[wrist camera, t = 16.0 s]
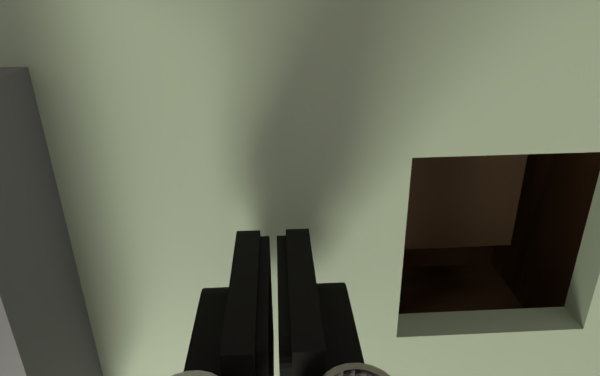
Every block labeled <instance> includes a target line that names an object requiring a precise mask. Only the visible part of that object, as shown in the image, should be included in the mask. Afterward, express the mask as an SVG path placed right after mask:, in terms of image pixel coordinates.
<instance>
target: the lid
mask: <svg viewBox="0 0 600 376" xmlns="http://www.w3.org/2000/svg"><path fill="white" fill-rule="evenodd" d="M585 152H600V0H0V376H172V375H174V374H178V373H181V372H183V371H184V367H185V362H186V358H187V353H188V349H189V344H190V340H191V335H192V331H193V326H194V322H195V317H196V312H197V308H198V303H199V299H200V294H201V291H202V289H203V288H216V287H229V283H230V275H231V268H232V261H233V253H234V246H235V239H236V232H237V231H252V230H260V234H261V236H269V238H270V260H271V283H272V306H273V329H274V376H280V373H279V339H278V280H277V236H283V235H286V229H309V234H310V241H311V248H312V255H313V262H314V269H315V276H316V283H339V282H344V283H345V284H346V287H347V291H348V295H349V299H350V304H351V308H352V312H353V316H354V321H355V325H356V329H357V333H358V338H359V342H360V346H361V350H362V355H363V359H364V363H365V364H369V365H373V366H375V367H377V368H379V369H382V370H384V371H385V372H386V373H387V374H389V375H390V376H600V172H599V176H598V180H597V184H596V188H595V191H594V195H593V199H592V203H591V207H590V210H589V214H588V218H587V222H586V226H585V229H584V233H583V237H582V241H581V245H580V248H579V252H578V256H577V260H576V264H575V268H574V271H573V275H572V279H571V283H570V287H569V290H568V294H567V298H566V302H565V306H564V307H546V308H523V309H500V310H477V311H455V312H432V313H409V314H399V302H400V291H401V280H402V268H403V257H404V245H405V234H406V223H407V211H408V200H409V189H410V177H411V166H412V158H422V157H455V156H487V155H520V154H552V153H585Z"/></svg>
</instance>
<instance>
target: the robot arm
mask: <svg viewBox="0 0 600 376" xmlns="http://www.w3.org/2000/svg"><path fill="white" fill-rule="evenodd" d="M277 280H278V339H279V373H280V376H390V375H389V374H387V373H386V372H385V371H384V370H382V369H379V368H377V367H375V366H373V365H369V364H365V363H364V359H363V355H362V350H361V346H360V342H359V338H358V333H357V329H356V325H355V321H354V316H353V312H352V308H351V304H350V299H349V295H348V291H347V287H346V284H345V283H344V282H339V283H316V276H315V269H314V262H313V255H312V248H311V241H310V234H309V229H286V235H283V236H277ZM172 376H274V329H273V306H272V283H271V260H270V238H269V236H261V234H260V230H252V231H237V232H236V239H235V246H234V253H233V261H232V268H231V275H230V283H229V287H216V288H203V289H202V291H201V294H200V299H199V303H198V308H197V312H196V317H195V322H194V326H193V331H192V335H191V340H190V344H189V349H188V353H187V358H186V362H185V367H184V371H183V372H181V373H178V374H174V375H172Z"/></svg>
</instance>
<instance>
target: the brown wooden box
mask: <svg viewBox="0 0 600 376" xmlns="http://www.w3.org/2000/svg"><path fill="white" fill-rule="evenodd" d="M599 172H600V152H585V153H552V154H520V155H487V156H455V157H422V158H412V166H411V177H410V189H409V200H408V211H407V223H406V234H405V245H404V257H403V268H402V280H401V291H400V302H399V314H409V313H432V312H455V311H477V310H500V309H523V308H546V307H564V306H565V302H566V298H567V294H568V290H569V287H570V283H571V279H572V275H573V271H574V268H575V264H576V260H577V256H578V252H579V248H580V245H581V241H582V237H583V233H584V229H585V226H586V222H587V218H588V214H589V210H590V207H591V203H592V199H593V195H594V191H595V188H596V184H597V180H598V176H599Z"/></svg>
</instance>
